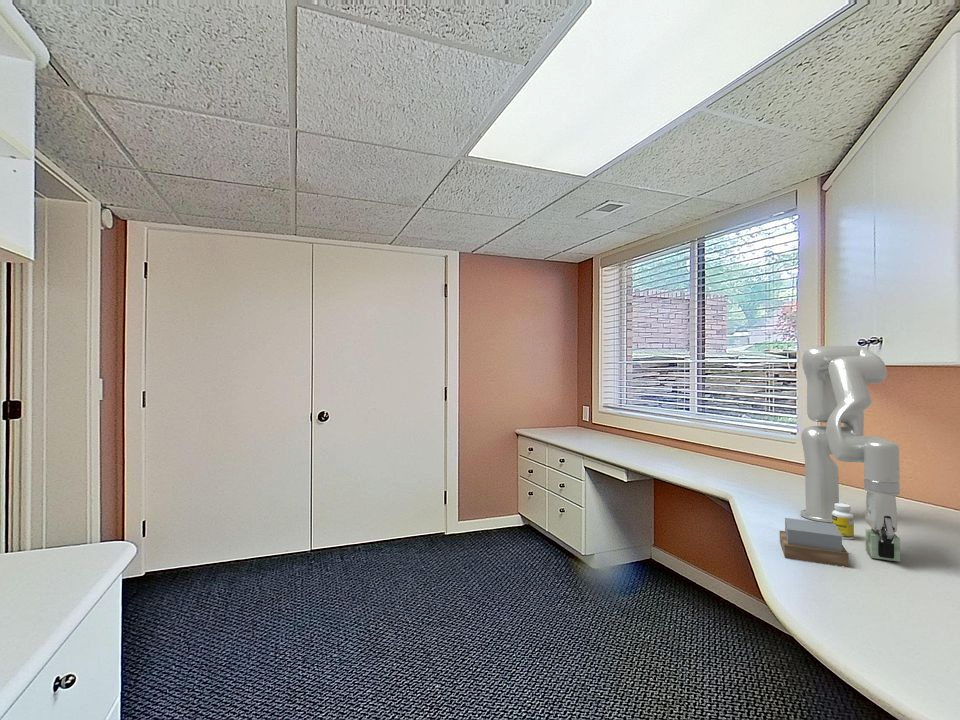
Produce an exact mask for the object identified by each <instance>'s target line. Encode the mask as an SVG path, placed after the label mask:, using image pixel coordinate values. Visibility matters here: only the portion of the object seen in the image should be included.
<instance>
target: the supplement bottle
mask: <svg viewBox="0 0 960 720" xmlns="http://www.w3.org/2000/svg"><path fill="white" fill-rule="evenodd" d="M851 507H852V506H851V505H850V504H846V503H841V502H839V503H835V504H834V508H835V510H834V511H833V512H832V524H835V525H836V527H837V528H838V530H839V532H840V534H841V536H842V540H845V541H847V540H848V541H850V540H853V539H854V538H855V527H854V526H855V520H854V519H855V518H854V517H855V516H854V514H853V513H852V512H851V509H852V508H851Z"/></svg>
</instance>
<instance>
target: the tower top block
mask: <svg viewBox="0 0 960 720" xmlns="http://www.w3.org/2000/svg"><path fill="white" fill-rule="evenodd" d="M784 531H785V533H786V538H787V542H788V544H791V545H798V546H805V547H812V548H819V549H826V550H833V551H840V552H842V545H843V539H842V536H841V534H840V532H839V530H838V528H837V527H836V525H835V524H832V523H829V522H821V521H815V520H806V519H799V518H798V519H797V518H789V517H784Z"/></svg>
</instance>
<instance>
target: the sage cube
mask: <svg viewBox="0 0 960 720" xmlns="http://www.w3.org/2000/svg"><path fill="white" fill-rule="evenodd" d="M884 534H886V533H883V535H884ZM893 538H894V558H893V559H891V558H884V557H880V556H879V555H878V541H880V538H879V530H877V531H875V530H872V528H870V529H869V528H865V551H866V552H867V554H868V555H869V556H870V558H871V559H877V560H885V561H893V562H898V563H899V562H901V539H900V537H899V536H897V534H896V533H894V536H893Z"/></svg>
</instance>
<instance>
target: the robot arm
mask: <svg viewBox="0 0 960 720" xmlns="http://www.w3.org/2000/svg"><path fill="white" fill-rule="evenodd" d="M801 361H802V363H801V364H802V370H803V373H804V375H805V378H806V414H807V417H808V419H809V420H811V421H813V422H816V423H826V425H813V426H812V425H811V426H808V427H805V428H804V429H803V430H802V432H801V435H800V438H801V439H800V440H801V444H802V445H801V446H802V449H803V456H804V477H805V479H804V481H805V482H804V483H805V487H804V488H805V489H804V490H805V509H802V510H800V516H802V517H803V518H804V519H808V520H810V521H816V522H824V523H832V512H833V511H834V510H835V508H834V504H835V503H840V494H839V493H840V492H839V490H840V489H839V488H840V487H839V486H840V485H839V484H840V482H839V479H840V478H839V468H838V464H837V463H836V462H835V461H834V460H833V458H834V459H835V460H837V461H840V462H842V463H844V462H845V463H863V489H864V491H865V492H866V497H865V514H864V516H865V517H864V518H865V522H866V523H867V525H868V526H869V527H871V528H870V529H872V530H875V531H877V530H879V538H880V541H878V555H879V556H880V557H884V558H891V559H893V558H894V538H893V536H894V534H895V533H896V532H897V531H898V512H897V509H898V508H897V497H896V496H900V495H901V485H900V484H901V478H900V477H901V476H900V475H901V474H900V446H899V445H898V444H897V443H896V442H894V441H888V440H887V439H885V438H883V437H879V436H865V435H864V432H865V431H864V430H865V429H864V428H865V425H864V424H865V423H864V421H865V411H864V410H866V409H868V408H870V407H871V405H872V397H871V393H870V390H869V387H868V384H881V383H883V382H884V381H885V379H887V376H888V375H887V374H888V371H887V370H888V369H887V367H886V364H885V362H884V361H883V359H882V358H881V357H880V356H879V355H878V354H876V353H874V352H872V351H871V350H869V349H868V348H866V347H864V346H861V345H820V346H812V347H810V348H807V349H805V351H804V352H803V354H802V358H801ZM841 424H842V425H843V426H842V425H841ZM830 455H832V456H833V458H832V457H831V456H830ZM883 533H886V534H884V535H883Z"/></svg>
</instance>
